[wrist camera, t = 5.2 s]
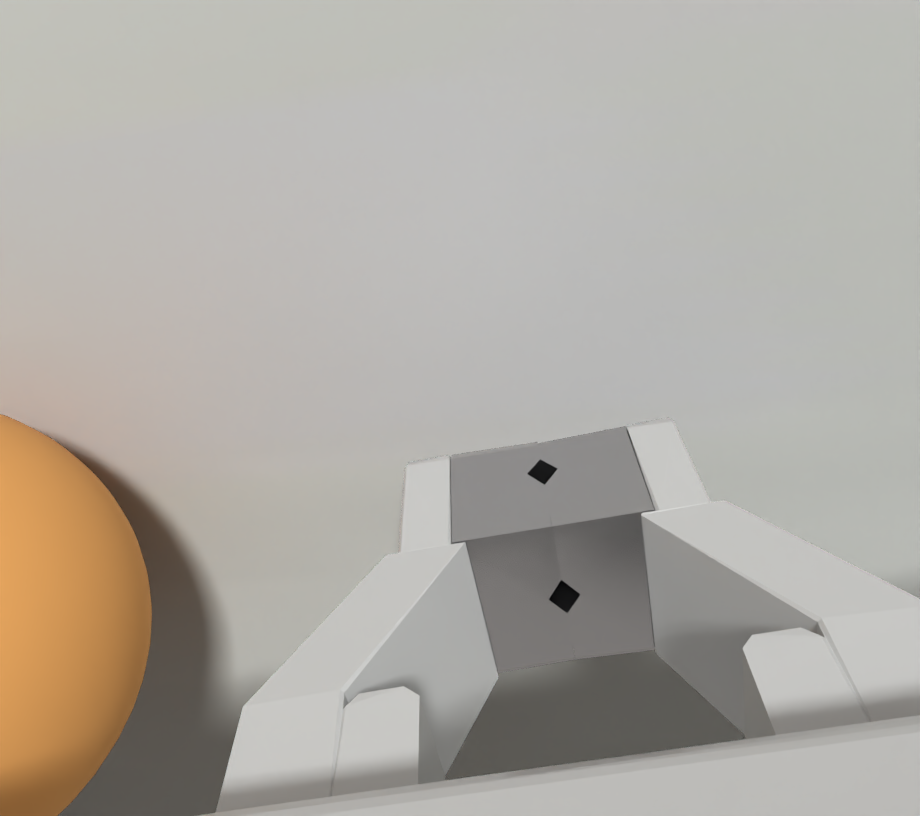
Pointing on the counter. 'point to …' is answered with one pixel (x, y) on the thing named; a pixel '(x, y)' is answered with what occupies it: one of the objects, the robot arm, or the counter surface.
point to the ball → (63, 622)
